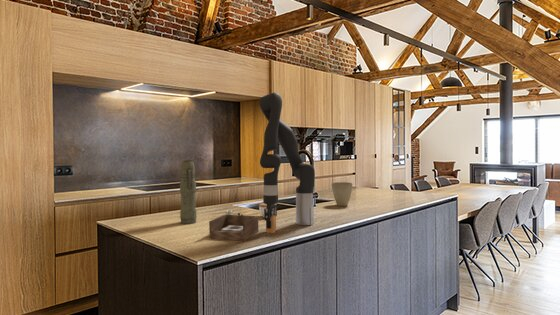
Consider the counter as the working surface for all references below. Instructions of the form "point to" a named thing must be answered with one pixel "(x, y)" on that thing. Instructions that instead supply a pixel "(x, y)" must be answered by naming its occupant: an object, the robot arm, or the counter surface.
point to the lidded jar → (262, 208)
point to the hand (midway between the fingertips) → (270, 226)
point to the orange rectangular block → (272, 225)
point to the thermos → (188, 193)
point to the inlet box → (233, 227)
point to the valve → (231, 213)
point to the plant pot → (342, 192)
